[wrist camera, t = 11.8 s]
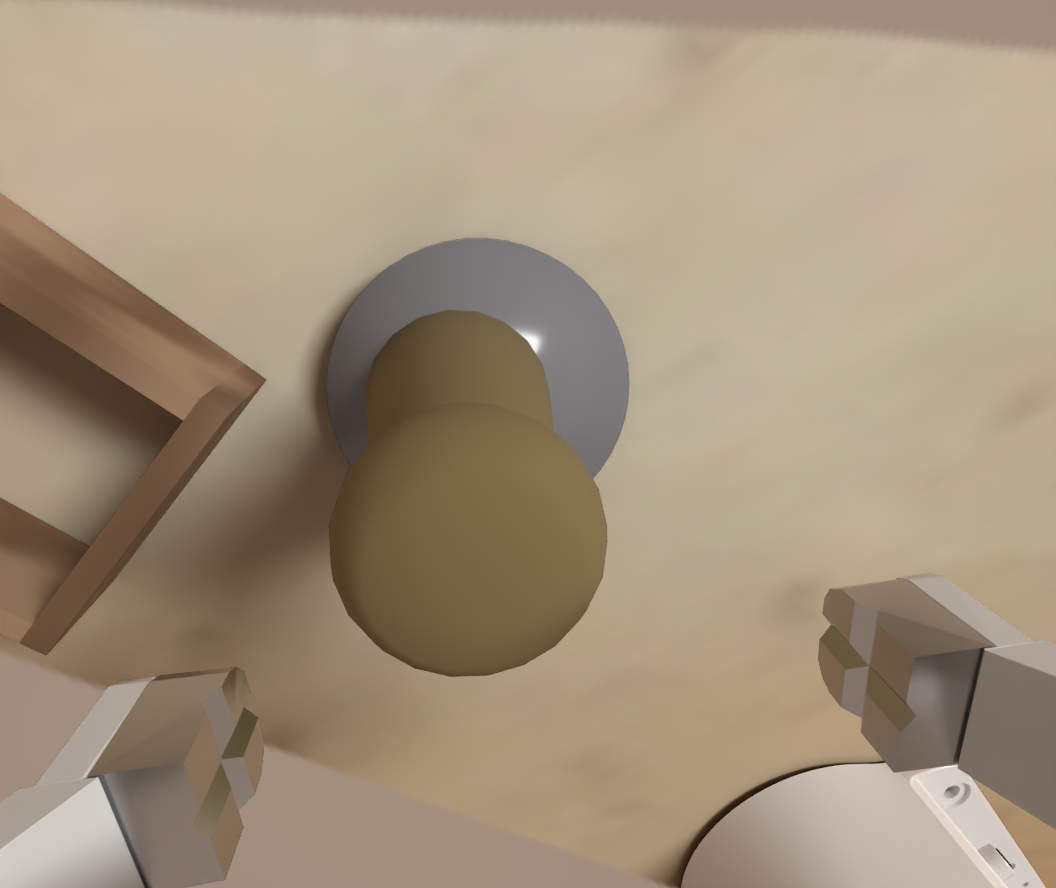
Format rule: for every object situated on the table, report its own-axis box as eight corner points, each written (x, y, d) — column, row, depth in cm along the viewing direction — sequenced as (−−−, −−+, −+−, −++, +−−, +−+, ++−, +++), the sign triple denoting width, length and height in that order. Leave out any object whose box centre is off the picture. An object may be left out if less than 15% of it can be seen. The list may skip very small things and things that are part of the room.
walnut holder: (266, 379, 20) (227, 416, 17) (112, 581, 22) (46, 655, 18) (-36, 168, 17) (-167, 155, 14) (-186, 422, 19) (-339, 472, 15)
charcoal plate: (677, 370, 22) (688, 376, 21) (498, 565, 24) (500, 579, 23) (459, 167, 19) (460, 164, 18) (271, 410, 21) (263, 419, 20)
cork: (455, 517, 22) (466, 783, 12) (325, 397, 20) (200, 593, 10) (585, 405, 21) (719, 586, 11) (463, 268, 19) (487, 331, 9)
